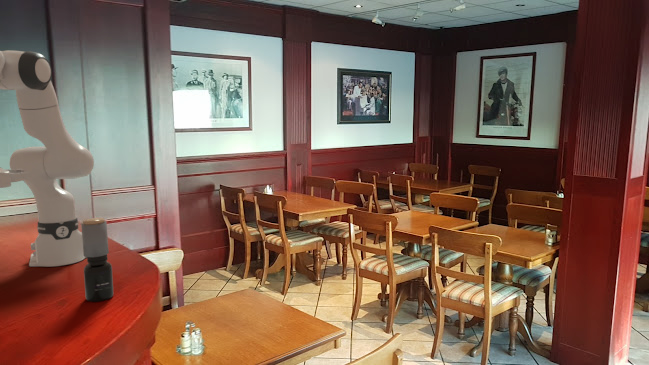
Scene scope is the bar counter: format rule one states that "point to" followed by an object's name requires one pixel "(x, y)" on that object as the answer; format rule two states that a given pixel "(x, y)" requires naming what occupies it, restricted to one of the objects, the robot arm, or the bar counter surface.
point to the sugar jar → (95, 237)
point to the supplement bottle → (98, 279)
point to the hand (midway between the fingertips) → (27, 174)
